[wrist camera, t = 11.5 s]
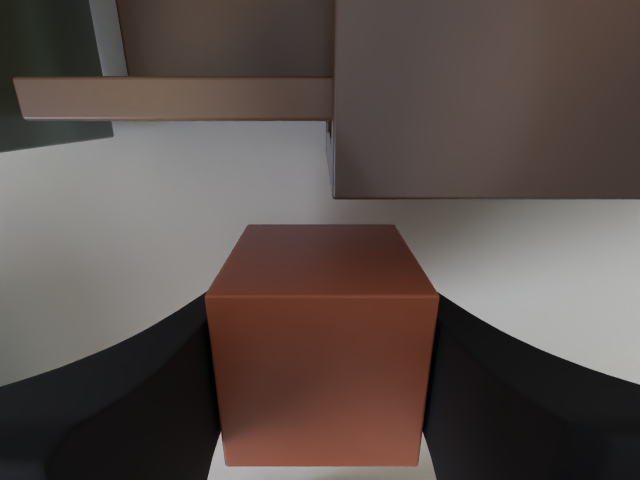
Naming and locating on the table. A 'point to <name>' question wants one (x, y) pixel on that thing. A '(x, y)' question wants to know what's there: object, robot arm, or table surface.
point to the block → (321, 346)
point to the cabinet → (485, 99)
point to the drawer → (161, 66)
